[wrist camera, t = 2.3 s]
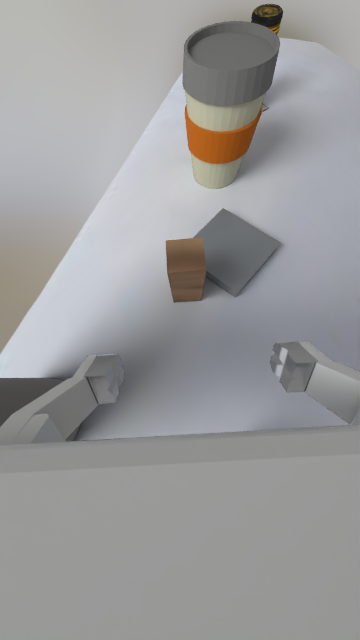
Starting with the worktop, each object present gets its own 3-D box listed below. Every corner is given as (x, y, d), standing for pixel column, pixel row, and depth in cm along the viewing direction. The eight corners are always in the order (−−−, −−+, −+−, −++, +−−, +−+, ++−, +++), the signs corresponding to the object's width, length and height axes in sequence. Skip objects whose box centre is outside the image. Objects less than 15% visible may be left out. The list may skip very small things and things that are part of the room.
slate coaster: (221, 215, 33) (223, 208, 32) (276, 248, 31) (280, 242, 29) (179, 256, 31) (179, 251, 30) (235, 297, 28) (237, 293, 27)
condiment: (243, 121, 41) (265, 23, 29) (222, 103, 43) (234, 6, 32) (268, 109, 42) (298, 8, 30) (246, 92, 44) (266, -7, 32)
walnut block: (172, 278, 30) (165, 240, 21) (198, 276, 30) (202, 237, 21) (173, 302, 29) (167, 273, 20) (201, 300, 29) (206, 269, 20)
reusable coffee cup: (255, 162, 37) (297, 29, 22) (228, 204, 34) (257, 81, 20) (202, 145, 39) (209, 14, 25) (173, 182, 36) (163, 59, 22)
